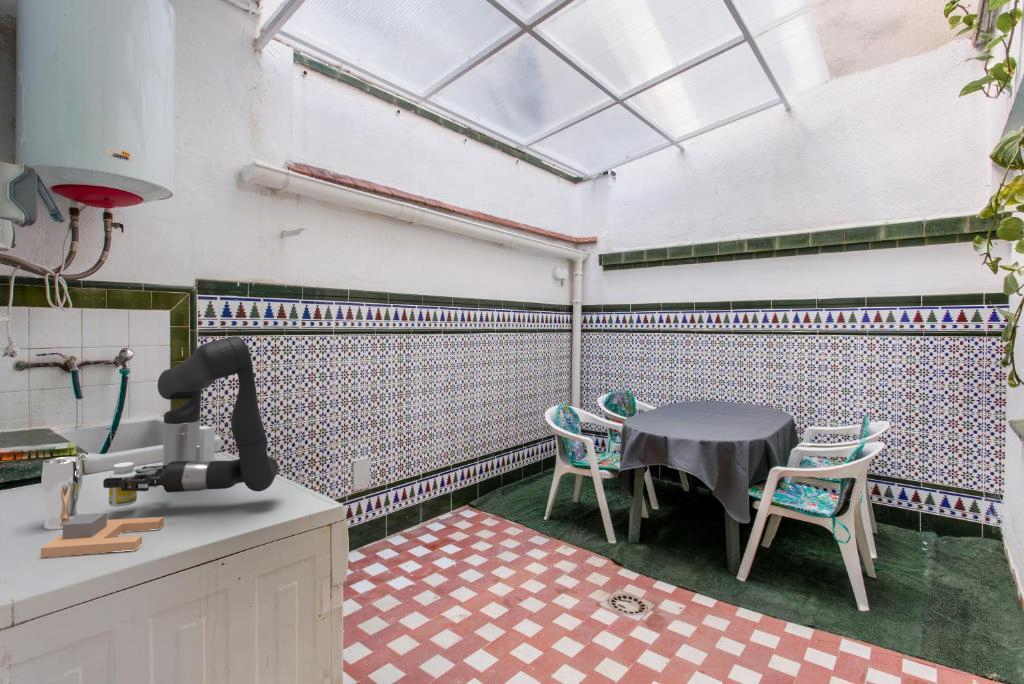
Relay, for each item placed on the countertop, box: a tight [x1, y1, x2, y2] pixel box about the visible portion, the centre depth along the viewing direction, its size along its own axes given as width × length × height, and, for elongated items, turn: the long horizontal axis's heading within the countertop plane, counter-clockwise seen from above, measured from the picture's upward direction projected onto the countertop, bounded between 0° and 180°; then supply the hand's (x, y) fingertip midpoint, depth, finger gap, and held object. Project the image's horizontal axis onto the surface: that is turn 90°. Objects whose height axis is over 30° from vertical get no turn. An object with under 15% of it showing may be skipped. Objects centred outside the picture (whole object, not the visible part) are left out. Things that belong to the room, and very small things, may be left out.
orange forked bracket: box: [40, 512, 165, 559], centre depth 106 cm, size 16×14×5 cm
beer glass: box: [40, 456, 83, 531], centre depth 114 cm, size 7×7×15 cm
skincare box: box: [199, 425, 216, 461], centre depth 169 cm, size 6×4×12 cm
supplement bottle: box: [108, 461, 138, 508], centre depth 121 cm, size 5×5×10 cm
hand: (111, 479), depth 120 cm, fingers closed on supplement bottle, 5 cm apart
